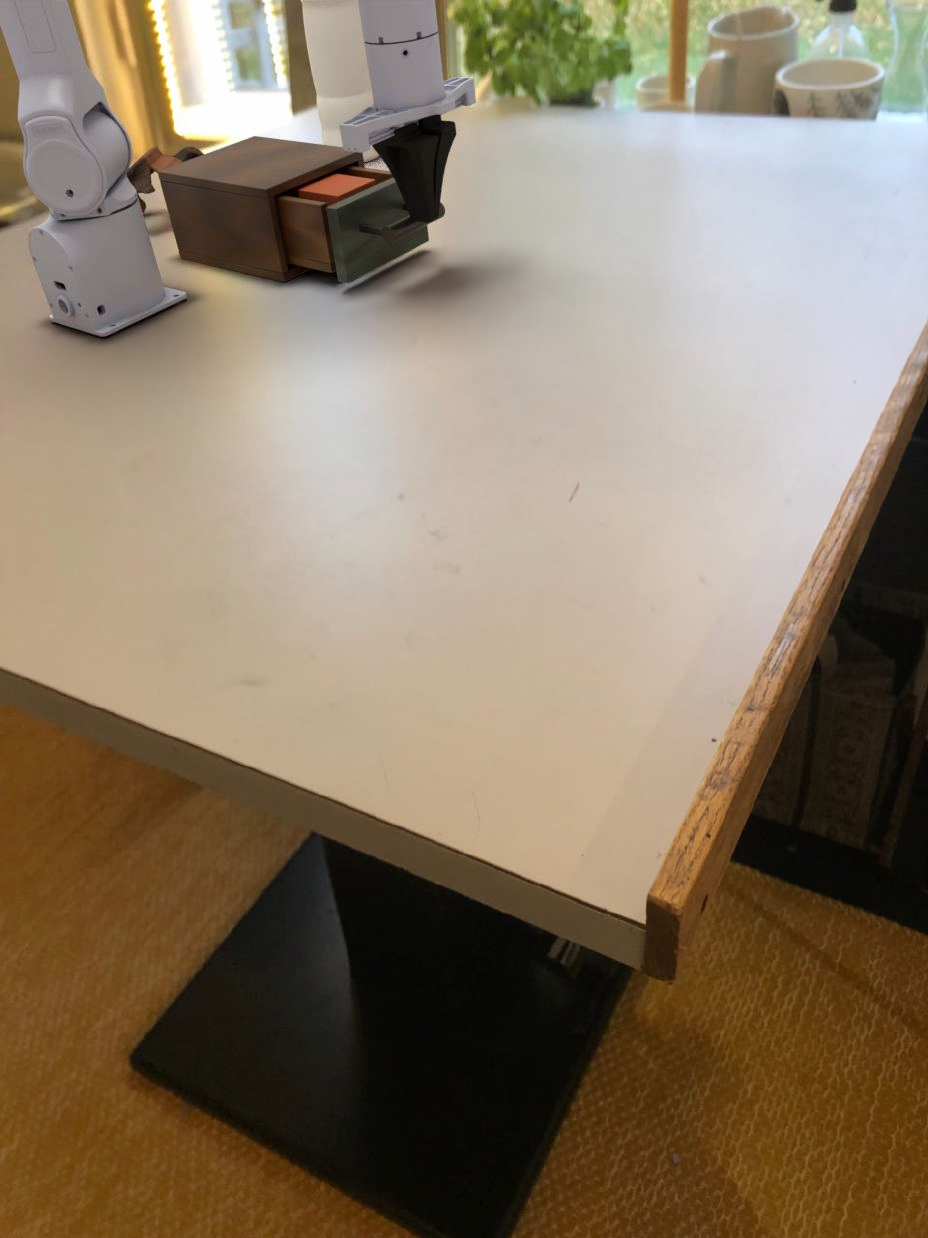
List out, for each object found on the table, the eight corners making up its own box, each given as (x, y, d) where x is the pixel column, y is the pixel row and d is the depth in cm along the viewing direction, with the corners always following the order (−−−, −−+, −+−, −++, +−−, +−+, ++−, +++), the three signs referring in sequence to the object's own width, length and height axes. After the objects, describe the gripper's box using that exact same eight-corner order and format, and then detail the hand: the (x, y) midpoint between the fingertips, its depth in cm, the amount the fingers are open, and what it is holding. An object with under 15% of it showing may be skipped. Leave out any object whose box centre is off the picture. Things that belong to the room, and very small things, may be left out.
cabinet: (374, 237, 96) (362, 149, 91) (284, 282, 89) (265, 189, 84) (271, 217, 104) (254, 135, 98) (180, 258, 96) (156, 171, 91)
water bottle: (317, 156, 121) (275, -93, 104) (371, 145, 122) (337, -102, 106) (336, 169, 115) (295, -91, 99) (391, 157, 117) (360, -100, 101)
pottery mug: (182, 243, 101) (122, 174, 97) (143, 270, 108) (85, 206, 104) (247, 178, 106) (193, 109, 102) (205, 207, 113) (153, 144, 109)
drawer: (464, 247, 89) (458, 174, 85) (383, 291, 83) (373, 215, 79) (325, 221, 98) (313, 154, 94) (242, 260, 92) (226, 190, 88)
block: (347, 253, 88) (338, 195, 84) (307, 245, 90) (296, 189, 87) (383, 235, 90) (375, 179, 87) (343, 228, 93) (334, 172, 90)
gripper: (377, 59, 68) (406, 254, 77) (498, 15, 76) (512, 196, 85) (306, 57, 72) (341, 243, 81) (429, 15, 80) (449, 188, 89)
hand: (425, 218), depth 83 cm, fingers closed, pressing on drawer
